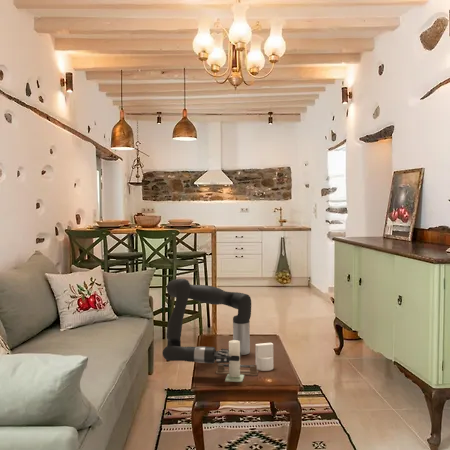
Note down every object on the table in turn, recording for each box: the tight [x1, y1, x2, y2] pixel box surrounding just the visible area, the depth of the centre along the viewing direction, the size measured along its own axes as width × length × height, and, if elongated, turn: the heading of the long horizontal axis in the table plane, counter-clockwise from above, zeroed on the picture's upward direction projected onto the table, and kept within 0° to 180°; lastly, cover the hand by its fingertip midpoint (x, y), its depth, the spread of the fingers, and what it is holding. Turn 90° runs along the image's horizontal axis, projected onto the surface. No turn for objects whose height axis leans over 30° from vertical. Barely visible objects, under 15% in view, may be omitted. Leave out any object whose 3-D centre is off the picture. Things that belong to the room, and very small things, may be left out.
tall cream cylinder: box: [228, 339, 241, 377], centre depth 217 cm, size 5×5×16 cm
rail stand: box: [215, 363, 259, 377], centre depth 224 cm, size 5×20×4 cm, turn 81°
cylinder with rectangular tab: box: [254, 342, 274, 372], centre depth 231 cm, size 9×9×12 cm
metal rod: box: [219, 363, 255, 369], centre depth 224 cm, size 1×18×1 cm, turn 81°
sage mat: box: [224, 374, 245, 383], centre depth 217 cm, size 8×8×1 cm
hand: (240, 356), depth 216 cm, fingers closed on tall cream cylinder, 5 cm apart
